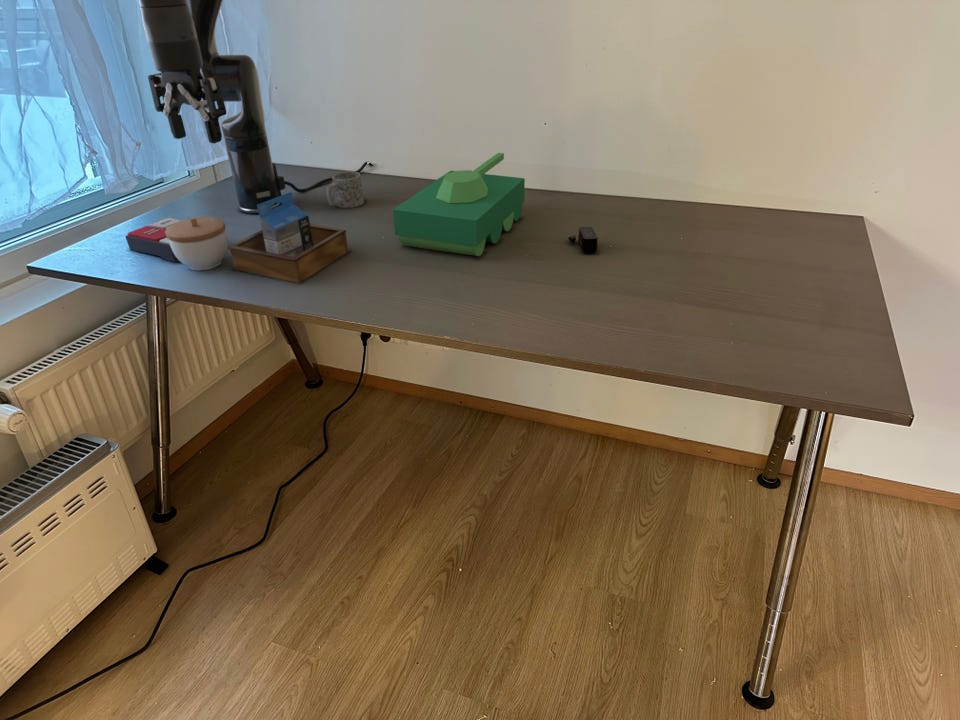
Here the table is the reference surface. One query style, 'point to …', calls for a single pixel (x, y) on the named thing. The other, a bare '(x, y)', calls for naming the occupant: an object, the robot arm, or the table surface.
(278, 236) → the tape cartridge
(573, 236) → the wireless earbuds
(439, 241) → the green tank
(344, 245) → the wooden square tray
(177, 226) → the trinket box
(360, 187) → the mug
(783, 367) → the table surface
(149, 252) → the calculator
